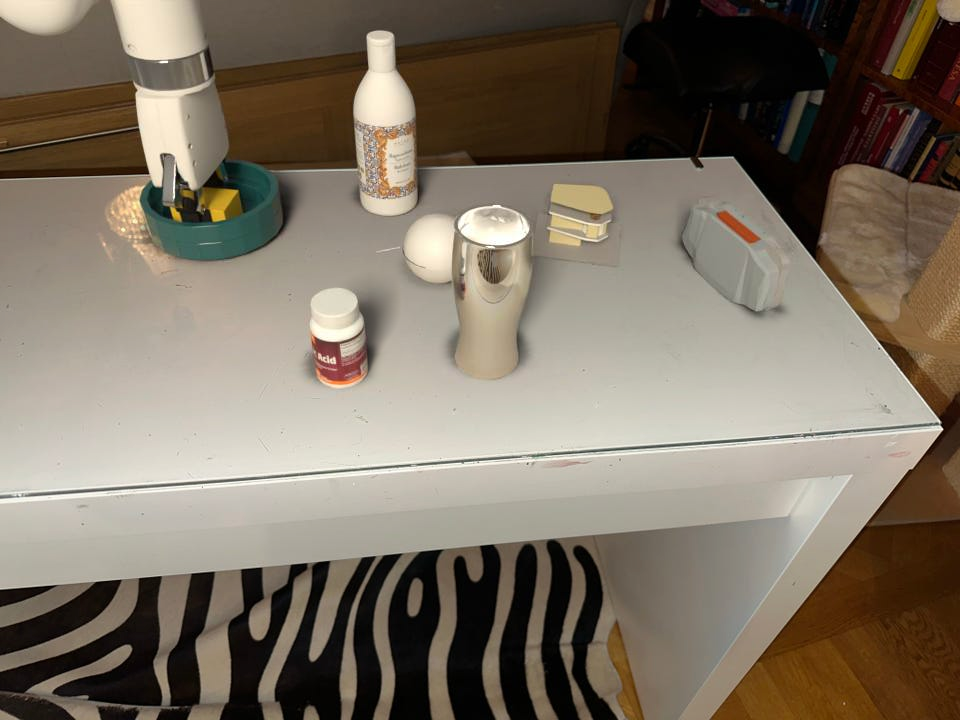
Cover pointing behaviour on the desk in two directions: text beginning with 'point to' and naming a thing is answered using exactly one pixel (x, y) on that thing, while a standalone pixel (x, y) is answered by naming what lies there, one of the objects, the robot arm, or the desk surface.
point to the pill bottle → (338, 338)
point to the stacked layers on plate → (578, 227)
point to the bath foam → (385, 132)
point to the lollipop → (430, 247)
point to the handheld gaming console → (736, 255)
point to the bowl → (223, 235)
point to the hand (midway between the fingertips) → (210, 226)
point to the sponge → (216, 203)
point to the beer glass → (490, 286)
